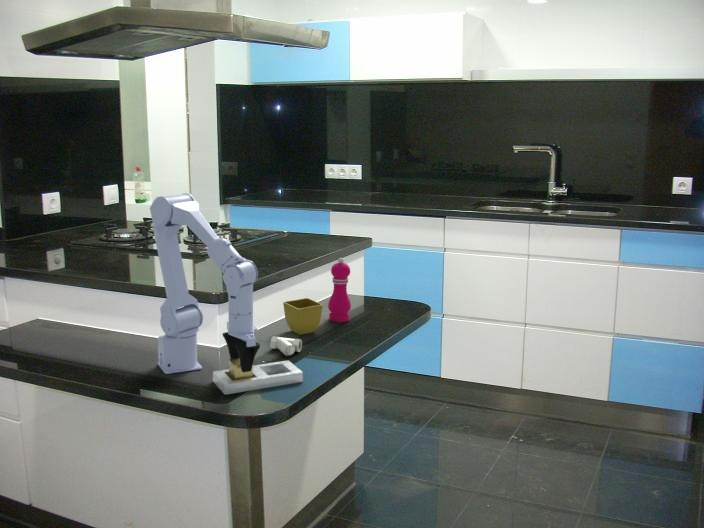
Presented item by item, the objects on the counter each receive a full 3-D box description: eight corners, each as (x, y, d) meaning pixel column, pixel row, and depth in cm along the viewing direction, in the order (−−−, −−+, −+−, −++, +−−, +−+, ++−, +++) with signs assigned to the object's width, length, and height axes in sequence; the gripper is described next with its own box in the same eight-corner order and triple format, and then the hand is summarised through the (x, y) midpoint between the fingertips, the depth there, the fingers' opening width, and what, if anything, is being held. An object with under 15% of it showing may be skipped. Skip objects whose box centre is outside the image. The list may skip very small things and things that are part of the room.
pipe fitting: (294, 359, 196) (301, 349, 202) (294, 346, 195) (301, 336, 201) (266, 356, 198) (274, 346, 204) (266, 342, 197) (274, 333, 203)
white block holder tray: (224, 394, 170) (224, 384, 170) (212, 381, 178) (212, 371, 177) (302, 381, 180) (303, 372, 179) (288, 369, 187) (288, 360, 187)
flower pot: (297, 338, 211) (298, 308, 209) (282, 330, 218) (282, 301, 216) (322, 333, 216) (323, 304, 214) (306, 325, 223) (307, 297, 221)
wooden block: (234, 389, 174) (234, 365, 172) (228, 382, 177) (228, 359, 176) (252, 386, 176) (252, 363, 174) (246, 380, 180) (246, 357, 178)
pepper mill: (325, 316, 233) (326, 255, 229) (346, 315, 235) (348, 255, 231) (331, 323, 226) (333, 260, 222) (353, 322, 229) (355, 260, 224)
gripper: (267, 318, 168) (267, 373, 171) (246, 302, 181) (246, 354, 184) (238, 321, 165) (239, 378, 168) (218, 305, 177) (219, 358, 180)
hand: (240, 366), depth 175 cm, fingers open, 7 cm apart
